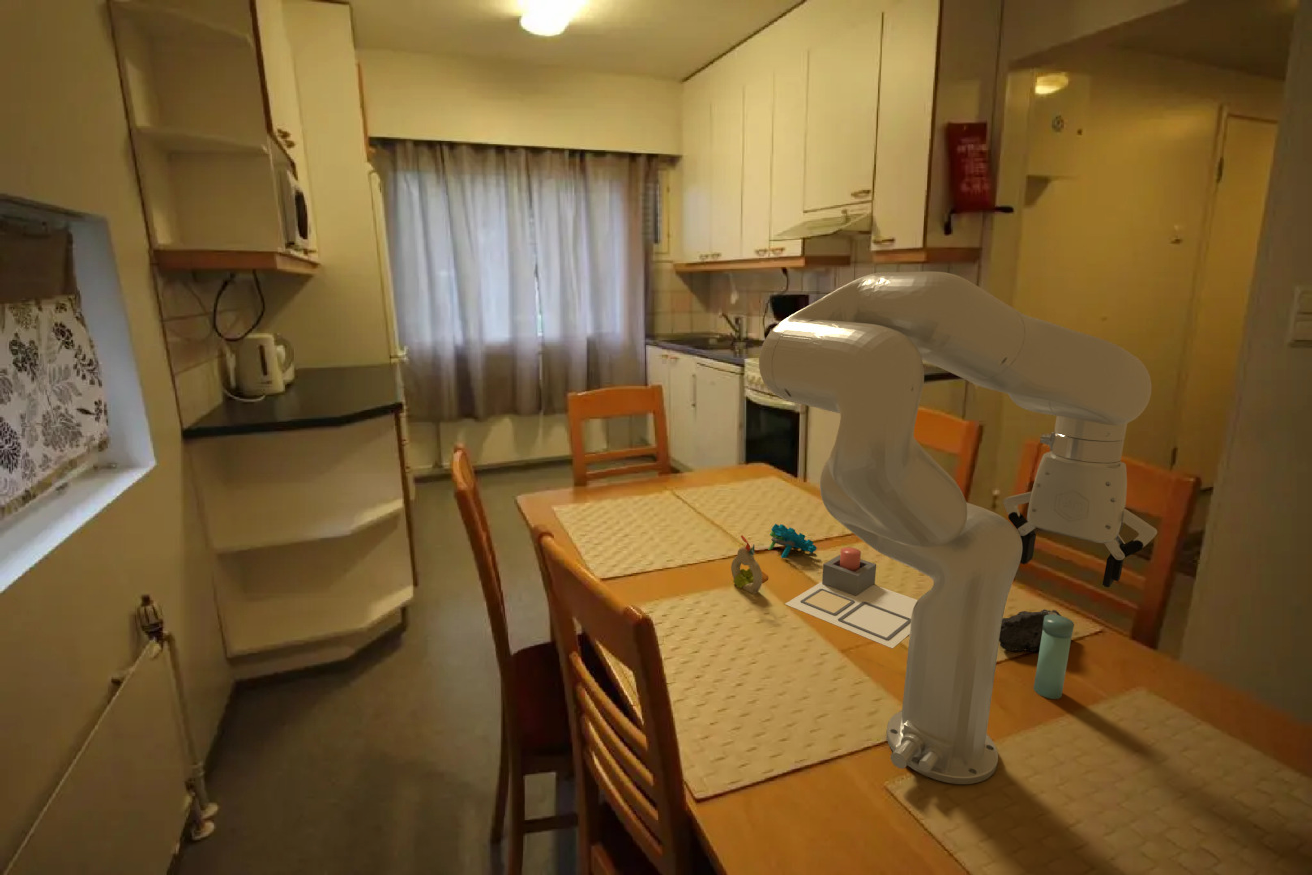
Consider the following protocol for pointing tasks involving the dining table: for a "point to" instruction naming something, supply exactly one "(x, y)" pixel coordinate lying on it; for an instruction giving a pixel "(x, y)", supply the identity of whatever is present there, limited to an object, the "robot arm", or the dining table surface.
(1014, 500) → the robot arm
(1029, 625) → the rock
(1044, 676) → the cylinder
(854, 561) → the button
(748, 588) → the grey ring ornament
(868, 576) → the button collar
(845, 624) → the cream board with squares
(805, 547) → the toy dinosaur
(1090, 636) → the dining table surface
